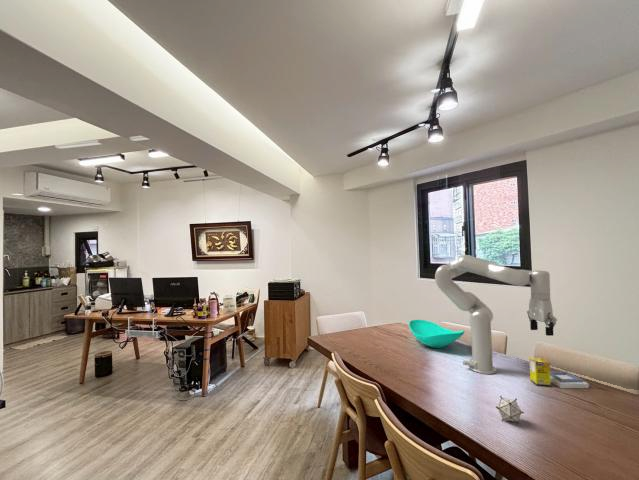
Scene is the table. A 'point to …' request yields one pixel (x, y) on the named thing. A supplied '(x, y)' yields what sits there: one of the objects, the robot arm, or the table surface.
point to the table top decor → (433, 333)
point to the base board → (567, 380)
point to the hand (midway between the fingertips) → (541, 332)
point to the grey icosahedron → (509, 409)
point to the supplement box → (540, 371)
